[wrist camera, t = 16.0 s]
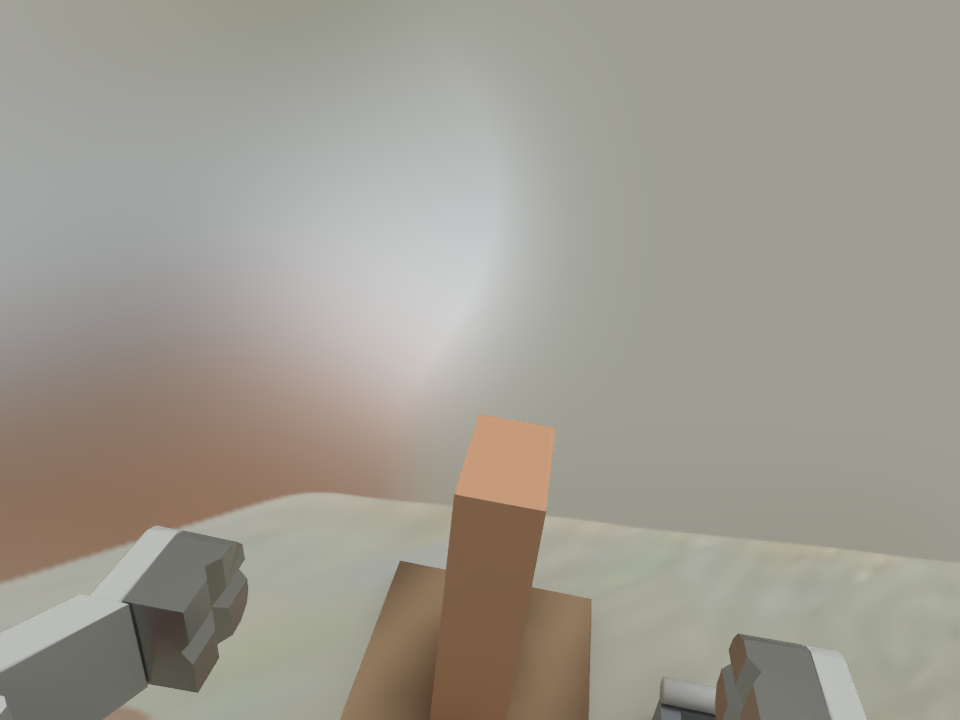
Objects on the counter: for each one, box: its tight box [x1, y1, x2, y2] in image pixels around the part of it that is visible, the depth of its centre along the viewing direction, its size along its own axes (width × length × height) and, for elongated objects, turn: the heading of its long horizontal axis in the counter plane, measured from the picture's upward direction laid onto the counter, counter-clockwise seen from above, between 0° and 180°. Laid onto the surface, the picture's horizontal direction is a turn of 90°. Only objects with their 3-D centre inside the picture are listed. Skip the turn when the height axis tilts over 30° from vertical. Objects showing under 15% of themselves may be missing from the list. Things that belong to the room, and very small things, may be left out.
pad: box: [341, 561, 591, 720], centre depth 30 cm, size 10×12×1 cm
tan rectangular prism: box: [430, 414, 555, 720], centre depth 27 cm, size 3×5×12 cm, turn 171°
